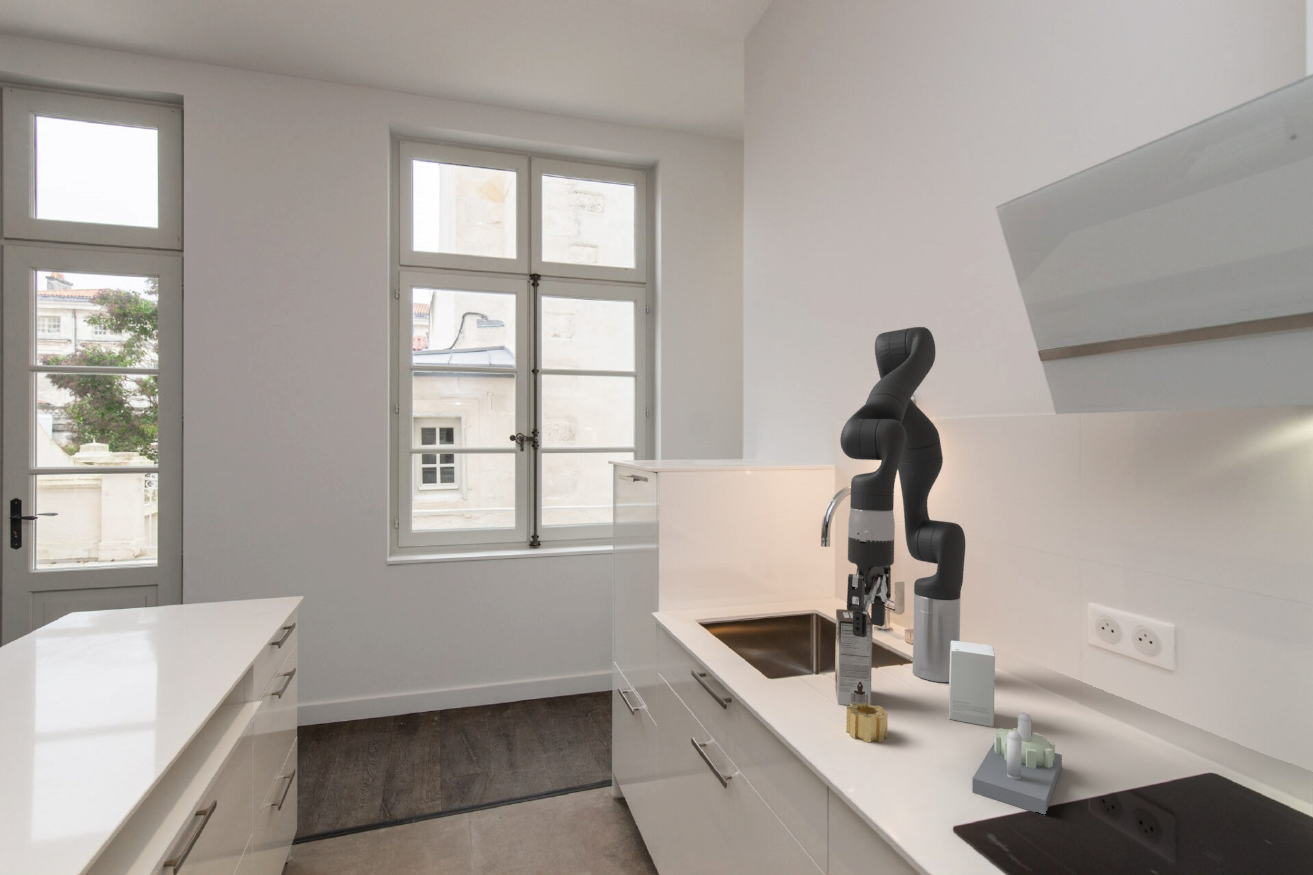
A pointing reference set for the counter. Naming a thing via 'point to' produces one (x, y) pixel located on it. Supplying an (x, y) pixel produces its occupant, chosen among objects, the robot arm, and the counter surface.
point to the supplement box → (972, 683)
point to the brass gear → (866, 722)
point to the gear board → (1019, 768)
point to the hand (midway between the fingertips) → (869, 630)
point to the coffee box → (852, 661)
